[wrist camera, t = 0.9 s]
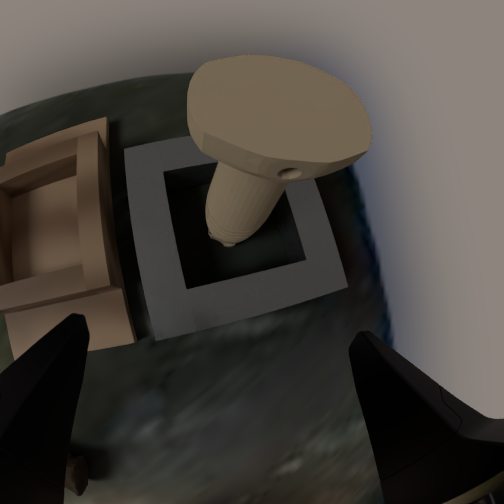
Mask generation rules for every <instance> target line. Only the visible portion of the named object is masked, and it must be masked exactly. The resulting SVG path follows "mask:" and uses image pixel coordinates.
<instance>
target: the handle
mask: <svg viewBox="0 0 504 504" xmlns="http://www.w3.org/2000/svg"><path fill="white" fill-rule="evenodd" d="M187 119H188V126H189V130H190V134H191V136H192V138H193V140H194V142H195V143H196V145H197V146H198V148H199V149H200V150H201V151H202V153H204V154H206V155H208V156H210V157H212V158H214V159H216V160H218V165H217V168H216V171H215V173H214V176H213V179H212V182H211V185H210V188H209V191H208V195H207V200H206V209H205V211H206V221H207V225H208V228H209V231H208V234H209V236H210V237H211V239H215V240H217V241H219V242H221V243H222V244H223V245H224V247H232V246H234V245H235V244H236V243H239V242H241V241H244V240H245V239H247V238H248V237H250V236H251V235H252V234H254V233H255V232H256V231H257V230H258V229H259V228H260V227H261V226H262V224H263V223H264V222H265V221H266V219H267V218H268V216H269V215H270V213H271V211H272V210H273V208H274V206H275V205H276V203H277V201H278V200H279V198H280V196H281V195H282V193H283V192H284V190H285V188H286V187H287V185H288V184H289V182H298V181H304V180H309V179H313V178H317V177H321V176H325V175H327V174H330V173H333V172H335V171H338V170H340V169H342V168H344V167H347V166H349V165H351V164H353V163H354V162H356V161H357V160H358V159H359V158H360V157H361V156H362V155H364V154H365V153H366V152H367V151H368V149H369V147H370V144H371V139H372V130H371V124H370V120H369V117H368V114H367V112H366V110H365V108H364V106H363V104H362V102H361V101H360V99H359V97H358V96H357V95H356V94H355V93H354V91H353V90H352V89H351V88H350V87H349V86H348V85H347V84H345V83H344V82H342V81H340V80H339V79H337V78H335V77H333V76H331V75H329V74H327V73H326V72H323V71H321V70H319V69H317V68H315V67H313V66H310V65H308V64H305V63H302V62H299V61H295V60H290V59H285V58H279V57H272V56H265V55H242V56H235V57H229V58H224V59H219V60H214V61H210V62H206V64H204V65H203V66H201V67H200V68H199V69H198V70H197V71H196V72H195V73H194V75H193V77H192V79H191V81H190V85H189V89H188V99H187Z"/></svg>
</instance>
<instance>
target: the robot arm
mask: <svg viewBox="0 0 504 504" xmlns="http://www.w3.org/2000/svg"><path fill="white" fill-rule="evenodd" d="M89 341H90V333H89V329H88V325H87V322H86V318H85V316H84V315H83V314H78V313H71V314H70V315H69V316H67V317H66V318H65V319H64V320H62V321H61V322H60V323H59V324H57V325H56V326H55V327H54V328H52V329H51V330H50V331H49V332H48V333H46V334H45V335H44V336H43V337H42V338H40V339H39V340H38V341H37V342H36V343H35V344H33V345H32V346H31V347H30V348H29V349H28V350H26V351H25V352H24V353H23V354H22V355H21V356H20V357H18V358H17V359H16V360H15V361H14V362H13V363H12V364H11V365H9V366H8V367H7V368H6V369H5V370H4V371H3V372H2V373H1V374H0V504H64V487H65V476H66V467H67V459H68V452H69V445H70V439H71V433H72V428H73V422H74V417H75V413H76V408H77V403H78V399H79V395H80V391H81V387H82V382H83V376H84V370H85V363H86V357H87V351H88V346H89ZM349 357H350V362H351V367H352V372H353V377H354V382H355V387H356V391H357V395H358V398H359V402H360V405H361V408H362V412H363V416H364V419H365V423H366V426H367V430H368V434H369V438H370V441H371V445H372V449H373V453H374V457H375V461H376V465H377V470H378V474H379V478H380V483H381V488H382V492H383V497H384V502H385V504H504V419H492V418H488V417H485V416H484V415H482V414H481V413H479V412H478V411H476V410H474V409H473V408H471V407H470V406H468V405H467V404H465V403H464V402H462V401H461V400H459V399H458V398H456V397H455V396H454V395H452V394H451V393H450V392H448V391H447V390H446V389H444V388H443V387H442V386H440V385H439V384H438V383H436V382H435V381H434V380H432V379H431V378H430V377H429V376H427V375H426V374H425V373H423V372H422V371H421V370H420V369H418V368H417V367H415V366H414V365H413V364H412V363H411V362H409V361H408V360H407V359H405V358H404V357H402V356H401V355H400V354H399V353H398V352H396V351H395V350H394V349H392V348H391V347H390V346H388V345H387V344H386V343H384V342H383V341H382V340H381V339H379V338H378V337H377V336H375V335H374V334H373V333H371V332H370V331H360V332H358V333H357V335H356V336H355V338H354V340H353V341H352V343H351V345H350V347H349Z"/></svg>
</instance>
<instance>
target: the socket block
mask: <svg viewBox="0 0 504 504" xmlns="http://www.w3.org/2000/svg"><path fill="white" fill-rule="evenodd" d="M124 157H125V170H126V181H127V191H128V200H129V208H130V216H131V223H132V230H133V237H134V243H135V249H136V254H137V260H138V265H139V270H140V276H141V280H142V285H143V290H144V294H145V299H146V303H147V307H148V311H149V316H150V320H151V323H152V327H153V331H154V335H155V338H156V341H157V340H162V339H166V338H171V337H175V336H180V335H184V334H188V333H192V332H197V331H201V330H205V329H209V328H213V327H217V326H220V325H224V324H228V323H232V322H236V321H239V320H243V319H247V318H250V317H254V316H257V315H261V314H264V313H268V312H271V311H275V310H278V309H281V308H285V307H288V306H291V305H294V304H298V303H301V302H304V301H307V300H310V299H313V298H317V297H320V296H323V295H326V294H329V293H332V292H335V291H338V290H341V289H343V288H346V287H348V284H347V281H346V277H345V273H344V270H343V266H342V263H341V259H340V256H339V253H338V249H337V246H336V243H335V239H334V236H333V233H332V230H331V227H330V223H329V220H328V217H327V214H326V211H325V208H324V205H323V202H322V199H321V197H320V194H319V191H318V188H317V185H316V182H315V180H314V178H313V179H309V180H304V181H298V182H289V184H288V185H287V187H286V188H285V190H284V192H283V193H282V195H281V196H280V198H279V200H278V201H277V203H276V205H275V206H274V208H273V211H274V214H275V218H276V221H277V224H278V228H279V231H280V235H281V238H282V242H283V245H284V249H285V252H286V256H287V259H288V263H289V265H285V266H281V267H277V268H273V269H269V270H265V271H261V272H257V273H253V274H249V275H245V276H241V277H237V278H233V279H229V280H224V281H220V282H216V283H212V284H208V285H204V286H199V287H195V288H191V289H186V285H185V281H184V277H183V272H182V268H181V263H180V259H179V254H178V250H177V245H176V240H175V235H174V230H173V225H172V220H171V215H170V210H169V204H168V198H167V193H166V191H171V190H175V189H180V188H186V187H191V186H196V185H202V184H207V183H211V182H212V179H213V176H214V173H215V171H216V168H217V165H218V160H216V159H214V158H212V157H210V156H208V155H206V154H204V153H202V151H201V150H200V149H199V148H198V146H197V145H196V143H195V142H194V140H193V138H192V136H186V137H180V138H174V139H169V140H163V141H158V142H153V143H148V144H144V145H139V146H135V147H130V148H126V149H124Z"/></svg>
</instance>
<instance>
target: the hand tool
mask: <svg viewBox="0 0 504 504" xmlns="http://www.w3.org/2000/svg"><path fill="white" fill-rule="evenodd" d="M88 478H89V476H88V465H87V462H86V459H85V457H84V456H77V457H74V456H73V455H72V454H71V453H70V452H68V459H67V467H66V476H65V487H66V488H68V489H70V490H71V491H72V492H74V493H75V494H76V495H77V496H81V495H82V494H83V493H84V491H85V489H86V487H87V485H88Z"/></svg>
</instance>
